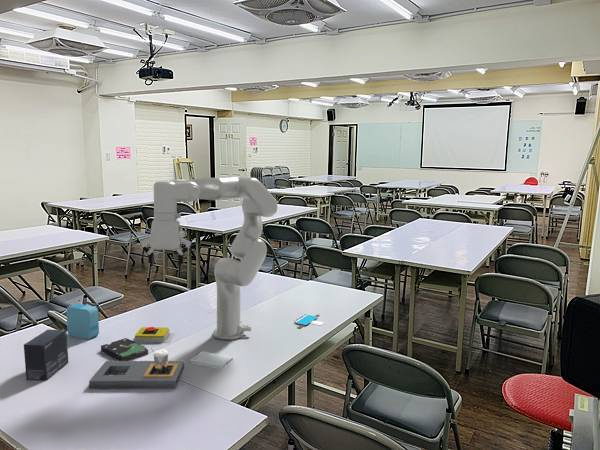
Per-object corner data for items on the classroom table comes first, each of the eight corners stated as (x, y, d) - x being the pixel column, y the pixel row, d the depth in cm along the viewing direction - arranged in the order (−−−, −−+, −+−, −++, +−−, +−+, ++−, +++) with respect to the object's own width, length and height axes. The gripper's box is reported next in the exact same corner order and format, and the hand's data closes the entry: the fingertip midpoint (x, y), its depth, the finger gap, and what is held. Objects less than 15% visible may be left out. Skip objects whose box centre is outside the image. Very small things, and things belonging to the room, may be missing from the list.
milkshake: (153, 373, 147) (153, 344, 146) (170, 374, 147) (169, 345, 146) (149, 380, 143) (149, 350, 141) (166, 380, 143) (166, 350, 141)
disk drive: (100, 353, 163) (123, 364, 154) (100, 345, 163) (122, 356, 154) (126, 344, 171) (149, 354, 162) (125, 337, 171) (148, 347, 162)
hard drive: (190, 359, 156) (221, 366, 152) (203, 350, 164) (233, 356, 159) (190, 364, 156) (221, 370, 152) (203, 355, 164) (233, 361, 159)
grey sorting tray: (184, 367, 152) (184, 360, 152) (175, 388, 138) (175, 380, 138) (106, 368, 150) (106, 360, 150) (89, 388, 136) (89, 380, 136)
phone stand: (312, 332, 188) (312, 328, 188) (287, 327, 194) (287, 323, 193) (331, 318, 206) (331, 315, 205) (308, 314, 211) (308, 310, 211)
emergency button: (137, 324, 180) (175, 324, 181) (137, 334, 181) (175, 334, 182) (130, 332, 171) (169, 333, 172) (130, 343, 172) (169, 343, 173)
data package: (99, 336, 177) (98, 306, 176) (90, 340, 173) (89, 310, 171) (76, 331, 181) (75, 302, 180) (67, 335, 177) (65, 306, 176)
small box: (49, 362, 154) (47, 328, 152) (69, 362, 154) (67, 329, 152) (25, 380, 141) (22, 344, 139) (46, 381, 140) (44, 344, 139)
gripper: (192, 216, 159) (193, 263, 161) (143, 215, 158) (144, 262, 160) (188, 218, 151) (189, 268, 154) (136, 218, 150) (137, 267, 152)
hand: (166, 265), depth 157 cm, fingers open, 9 cm apart
